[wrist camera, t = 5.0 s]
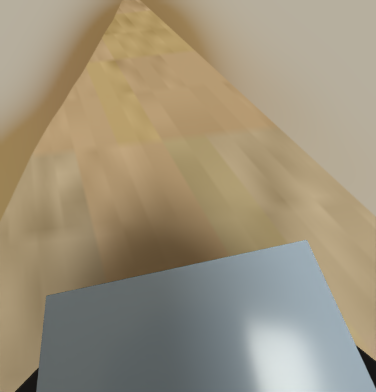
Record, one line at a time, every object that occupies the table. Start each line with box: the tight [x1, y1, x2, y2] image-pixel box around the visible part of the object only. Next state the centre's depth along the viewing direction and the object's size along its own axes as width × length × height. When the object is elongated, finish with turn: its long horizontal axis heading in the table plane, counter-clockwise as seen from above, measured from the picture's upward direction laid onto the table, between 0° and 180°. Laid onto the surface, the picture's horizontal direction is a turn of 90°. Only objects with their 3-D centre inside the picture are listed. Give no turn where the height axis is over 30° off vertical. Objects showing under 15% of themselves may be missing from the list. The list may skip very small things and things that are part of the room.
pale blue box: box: [36, 240, 376, 392], centre depth 8 cm, size 5×6×12 cm
